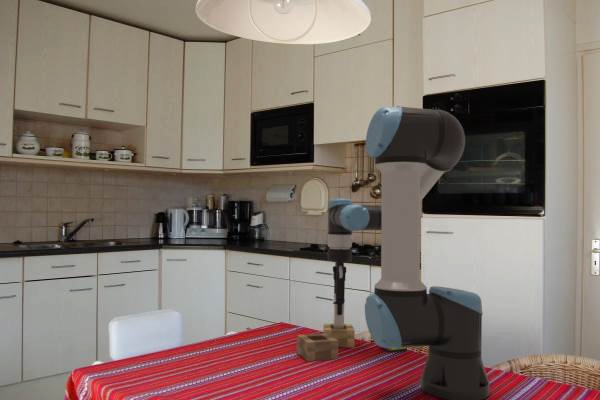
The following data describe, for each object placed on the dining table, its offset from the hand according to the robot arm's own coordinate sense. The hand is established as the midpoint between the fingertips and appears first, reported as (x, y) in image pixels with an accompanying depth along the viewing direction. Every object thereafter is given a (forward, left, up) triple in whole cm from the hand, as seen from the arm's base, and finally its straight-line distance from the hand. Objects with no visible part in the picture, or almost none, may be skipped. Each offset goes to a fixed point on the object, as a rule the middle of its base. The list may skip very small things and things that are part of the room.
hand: (338, 323), depth 157 cm
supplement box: (-6, -16, -6) cm, 18 cm away
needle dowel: (0, 0, -5) cm, 5 cm away
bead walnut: (-14, +7, -6) cm, 17 cm away
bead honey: (0, 0, -6) cm, 6 cm away
